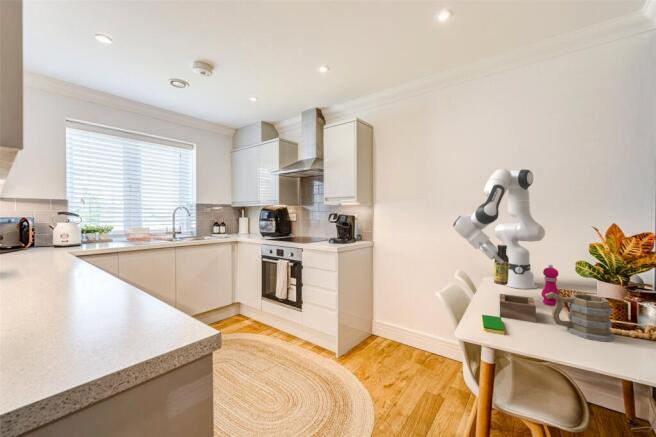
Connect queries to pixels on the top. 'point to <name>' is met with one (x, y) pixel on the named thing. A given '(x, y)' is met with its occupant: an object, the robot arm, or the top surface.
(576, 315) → the tankard
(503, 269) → the sauce bottle
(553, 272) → the pepper mill
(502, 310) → the socket
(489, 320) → the dish sponge
